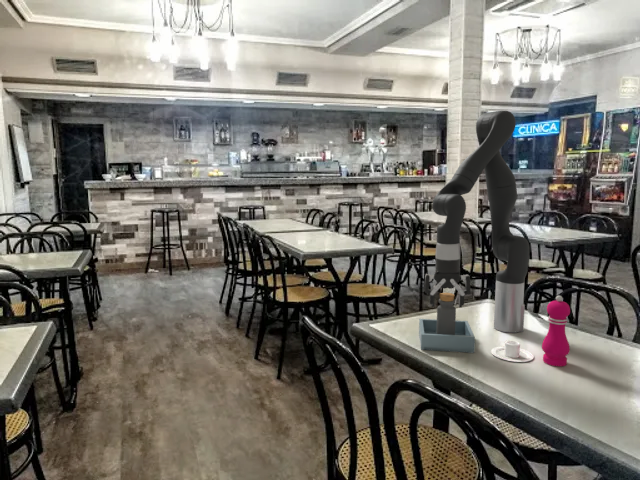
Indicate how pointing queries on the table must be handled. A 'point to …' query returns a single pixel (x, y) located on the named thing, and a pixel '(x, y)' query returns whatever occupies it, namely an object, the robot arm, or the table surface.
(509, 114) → the robot arm
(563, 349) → the pepper mill
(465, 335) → the tote
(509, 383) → the table surface
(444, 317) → the bottle
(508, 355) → the candle holder
